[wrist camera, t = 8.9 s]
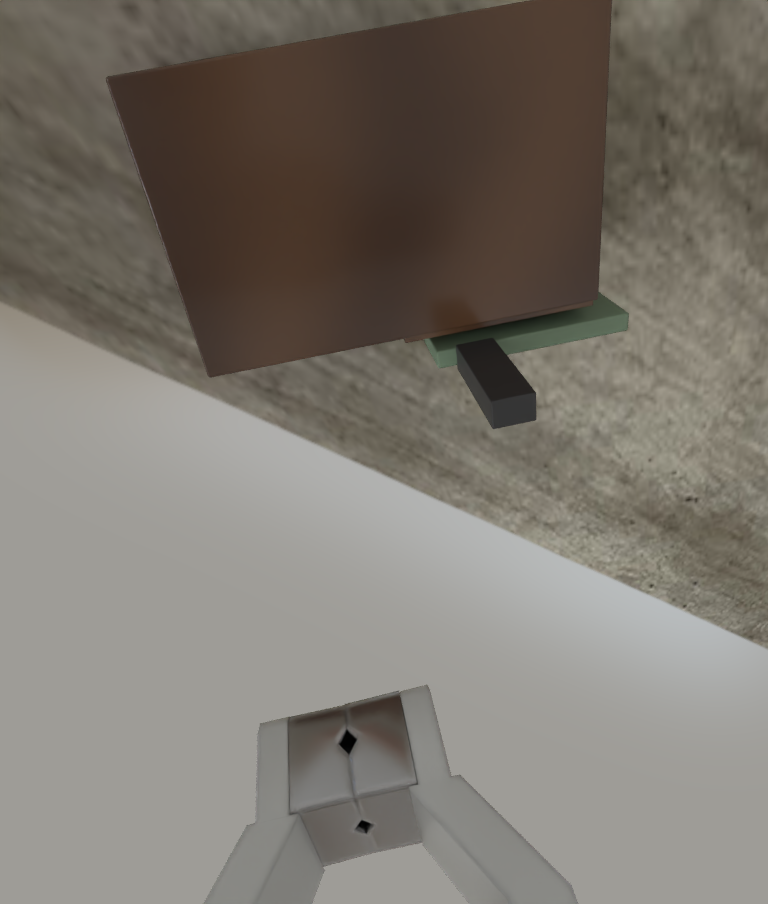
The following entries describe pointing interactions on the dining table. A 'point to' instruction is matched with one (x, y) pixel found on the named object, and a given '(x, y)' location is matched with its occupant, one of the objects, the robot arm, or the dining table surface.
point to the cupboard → (378, 180)
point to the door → (488, 348)
